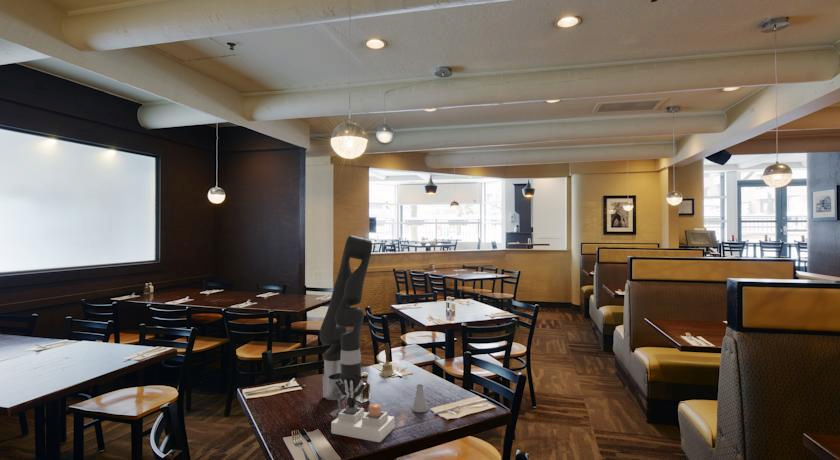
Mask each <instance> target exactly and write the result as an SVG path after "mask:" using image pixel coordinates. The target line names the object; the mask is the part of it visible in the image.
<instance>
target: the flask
mask: <svg viewBox="0 0 840 460" xmlns="http://www.w3.org/2000/svg"><path fill="white" fill-rule="evenodd" d="M415 388H416V392H415V397H414V400H413V403H412V406H411V411H412V412H415V413H418V414H419V413H427V412H428V411H429V406H428V403H427V400H426V397H425V395H424V384H423V383H417V384H416V385H415Z"/></svg>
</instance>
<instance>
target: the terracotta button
mask: <svg viewBox="0 0 840 460" xmlns="http://www.w3.org/2000/svg"><path fill="white" fill-rule="evenodd" d="M381 411H382V405H381V404H379V403H371V404H369V405H368V412H369V416H371V417H377V416H380V415H381Z"/></svg>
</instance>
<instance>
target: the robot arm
mask: <svg viewBox="0 0 840 460" xmlns="http://www.w3.org/2000/svg"><path fill="white" fill-rule="evenodd" d="M372 250H373V242H372V240H371V239H369V238H365V237H360V236H356V235H352V234H351V235H348V236H347V238H346V240H345V243H344V249H343V253H342V257H341V260H340V261H341V262H340V267H339V270H338V273H337V277H336V280H335V283H334V285H333V289H332V294H331V297H330V302H329V303H328V308H327V311H326V314H325V316H324V318H323V321H322V324H321V326H320V328H319V329H320V330H319V340H320V342H321V343H322V344H323V345H326V346H329V345H330V347H329V348H327V349H326V351H324V352H323V353H324V354H323V362H324V363H323V367H324V370H323V371H324V372H323V373H324V375H322V398H324V399H326V400H327V401H337V398H336V396H335V395H334V394H333V393H332V392H331V390H330V387H329V376H330V375H331V374H335V373H341V374H342V375H341V379H339V380H338V381H336V385H337V386H338V388H339V389H340V391H341V393H342V394H343V395H342V397H341V400H343V399H344V398H345V397H346V398H347V399H346V400H347V405H348V406H349V407H351V408H353V407H354V406H355V405H357V397H359V396H361V394H362V392H363V391H364V390H365V388H366V387H367V386H368V383H367V382H365V381H363V377H362V374H361V373H362V357H361V356H362V355H361V354H362V353H361V345H360V344H361V341H360V339H361V338H360V337H361V331H362V326H363V323H364V317H365V312H364V310H363V309H362V308H361V307H358V306H357V307H353V306H356V305H359V304H360V303H361V301H362V296H363V291H364V290H363V289H364V282H365V279H366V275H367V273H368V268H369V263H370V259H371V255H372ZM351 259H355V260H361V262H360V264H359V266H358V267H357V268H356V269H355V270H354V271H353V272H352V268H351V265H350V264H351V263H350V260H351ZM348 327H353V329H352V330H351V331H348V330H347V328H348ZM358 386H359V388H358Z"/></svg>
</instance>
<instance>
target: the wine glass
mask: <svg viewBox="0 0 840 460" xmlns="http://www.w3.org/2000/svg"><path fill="white" fill-rule="evenodd" d="M341 375H342V374H341V373H335V374H331V375H330V376H329V387H330V390H331V392H332V393H333V394H334V395H335V396H336V398H337V400H336V401H337V409H334V410H332V411H331V412H330V413H329V414H330V415H331V416H332V417H336V418H338V413H340V412H341V411H342V410H344V409H345V408H341V400H342V399H341V397H342V395H343V394H342V393H341V391H340V389H339V388H338V386H337V385H336V381H338V380H339V379H341Z"/></svg>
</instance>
